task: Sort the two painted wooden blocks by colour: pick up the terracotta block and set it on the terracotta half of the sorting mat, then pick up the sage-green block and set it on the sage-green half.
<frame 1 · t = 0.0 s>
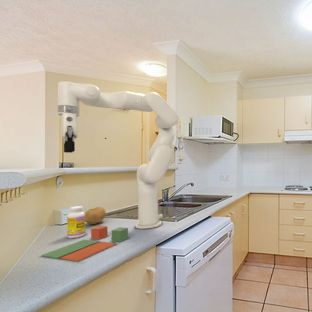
hand: (69, 152, 98), 37 cm above the worktop, tool pointing down, fingers open, 9 cm apart
sage block: (119, 239, 97), on the worktop
sorting mat: (81, 250, 87), on the worktop
potato: (94, 224, 123), on the worktop
terracotta block: (99, 237, 101), on the worktop
supplement bottle: (76, 236, 103), on the worktop
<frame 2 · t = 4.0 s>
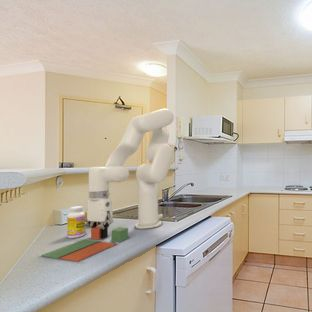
hand: (99, 236, 101), 0 cm above the worktop, tool pointing down, fingers closed on terracotta block, 4 cm apart
terracotta block: (99, 237, 101), on the worktop, touching gripper
everything else where it was.
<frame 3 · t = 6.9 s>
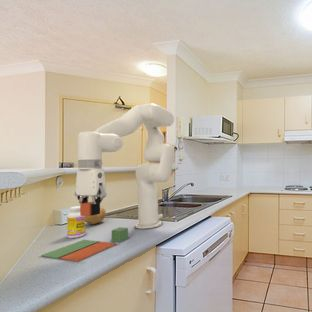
hand: (90, 213, 86), 14 cm above the worktop, tool pointing down, fingers closed on terracotta block, 4 cm apart
terracotta block: (90, 214, 86), point 13 cm above the worktop, touching gripper
everything else where it was.
when the fingers open (1 cm above the worktop, at t = 10.2 s): terracotta block stays where it is, resting on sorting mat.
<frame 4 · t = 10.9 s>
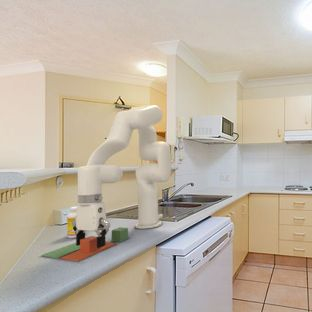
hand: (90, 245, 85), 2 cm above the worktop, tool pointing down, fingers open, 9 cm apart
terracotta block: (90, 250, 85), resting on sorting mat
everything else where it was.
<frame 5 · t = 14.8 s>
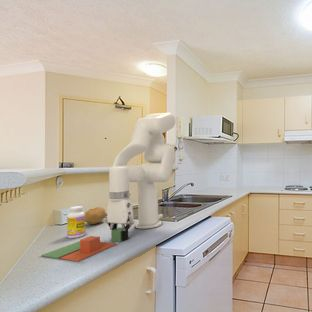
hand: (119, 238, 97), 0 cm above the worktop, tool pointing down, fingers closed on sage block, 4 cm apart
sage block: (119, 239, 97), on the worktop, touching gripper
everything else where it was.
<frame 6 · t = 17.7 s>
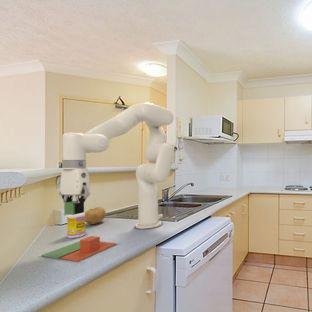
hand: (74, 212, 89), 14 cm above the worktop, tool pointing down, fingers closed on sage block, 4 cm apart
sage block: (74, 213, 88), point 13 cm above the worktop, touching gripper
everything else where it was.
when the fingers open (1 cm above the worktop, at t = 21.0 s): sage block stays where it is, resting on sorting mat.
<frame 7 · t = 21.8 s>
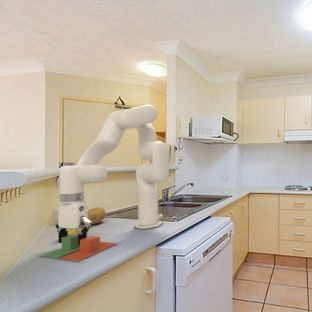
hand: (72, 242, 88), 2 cm above the worktop, tool pointing down, fingers open, 9 cm apart
sage block: (71, 247, 88), resting on sorting mat
everything else where it was.
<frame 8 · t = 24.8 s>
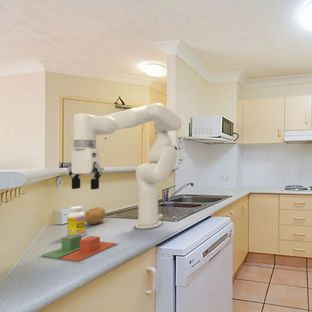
hand: (85, 188, 92), 22 cm above the worktop, tool pointing down, fingers open, 9 cm apart
nothing on the worktop moved.
at the end: terracotta block inside the target area (0.3 cm from its centre), resting on sorting mat; sage block inside the target area (0.3 cm from its centre), resting on sorting mat; sage block tilted 0° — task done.
